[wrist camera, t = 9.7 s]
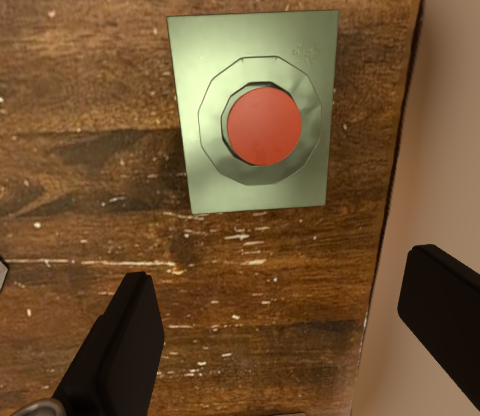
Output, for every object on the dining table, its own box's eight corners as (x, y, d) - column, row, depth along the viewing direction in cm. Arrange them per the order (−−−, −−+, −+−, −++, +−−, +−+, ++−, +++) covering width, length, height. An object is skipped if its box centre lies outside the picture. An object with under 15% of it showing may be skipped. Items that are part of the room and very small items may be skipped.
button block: (314, 195, 20) (336, 216, 16) (194, 203, 19) (187, 226, 16) (324, 21, 16) (356, -5, 12) (173, 27, 15) (157, 2, 12)
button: (292, 156, 15) (300, 163, 13) (228, 161, 15) (229, 167, 13) (293, 87, 14) (303, 85, 12) (224, 91, 13) (224, 89, 12)
